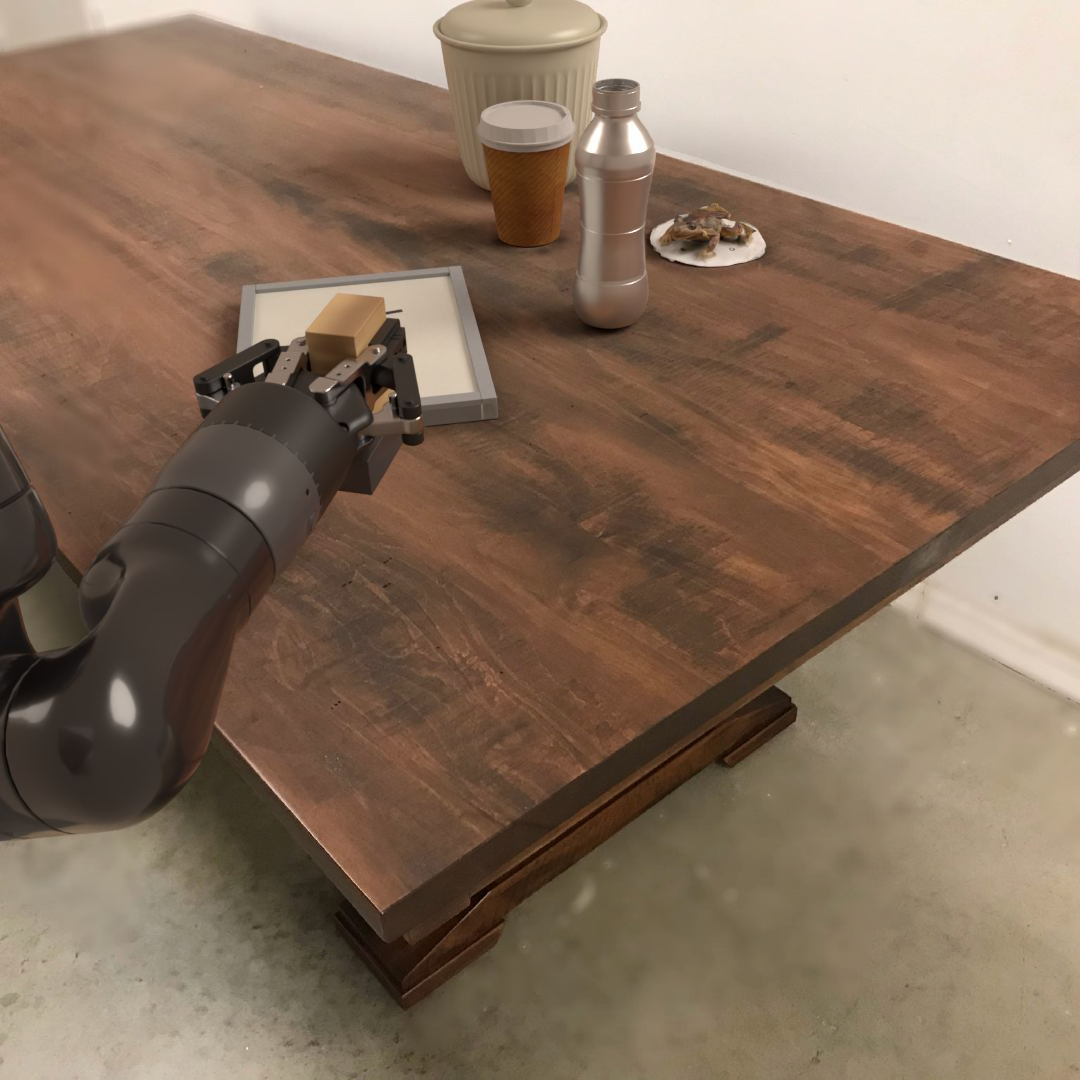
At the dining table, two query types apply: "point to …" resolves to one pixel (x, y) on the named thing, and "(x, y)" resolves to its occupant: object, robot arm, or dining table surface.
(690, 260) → the frog figurine
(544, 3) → the canister
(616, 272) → the silver bottle
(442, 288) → the whiteboard
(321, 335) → the eraser
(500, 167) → the disposable coffee cup
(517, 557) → the dining table surface
